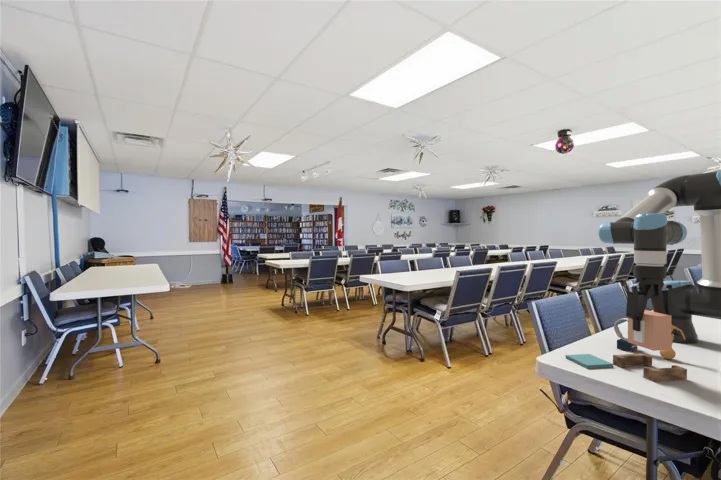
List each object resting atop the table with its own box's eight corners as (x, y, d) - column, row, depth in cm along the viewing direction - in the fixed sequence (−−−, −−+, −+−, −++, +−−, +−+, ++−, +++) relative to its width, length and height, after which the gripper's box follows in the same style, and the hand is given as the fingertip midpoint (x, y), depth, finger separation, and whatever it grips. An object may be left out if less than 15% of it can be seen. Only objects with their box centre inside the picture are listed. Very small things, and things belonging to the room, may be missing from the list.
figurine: (650, 356, 115) (650, 321, 115) (653, 352, 119) (653, 318, 119) (683, 363, 109) (684, 326, 109) (685, 359, 113) (686, 323, 113)
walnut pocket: (642, 362, 110) (642, 353, 110) (686, 379, 97) (687, 369, 97) (612, 364, 108) (613, 354, 108) (653, 381, 95) (653, 371, 95)
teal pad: (589, 356, 115) (589, 353, 115) (612, 367, 106) (612, 363, 106) (565, 358, 113) (565, 355, 113) (587, 368, 104) (587, 365, 104)
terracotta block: (644, 341, 107) (644, 309, 107) (671, 349, 99) (671, 315, 99) (627, 342, 106) (628, 310, 106) (653, 350, 98) (653, 316, 98)
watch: (637, 353, 118) (638, 322, 118) (611, 347, 125) (611, 317, 125) (644, 350, 121) (644, 320, 121) (617, 344, 128) (618, 315, 128)
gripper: (663, 263, 107) (662, 335, 107) (610, 264, 104) (610, 338, 105) (690, 265, 100) (689, 343, 100) (633, 266, 97) (632, 346, 97)
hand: (648, 340), depth 102 cm, fingers closed on terracotta block, 6 cm apart
